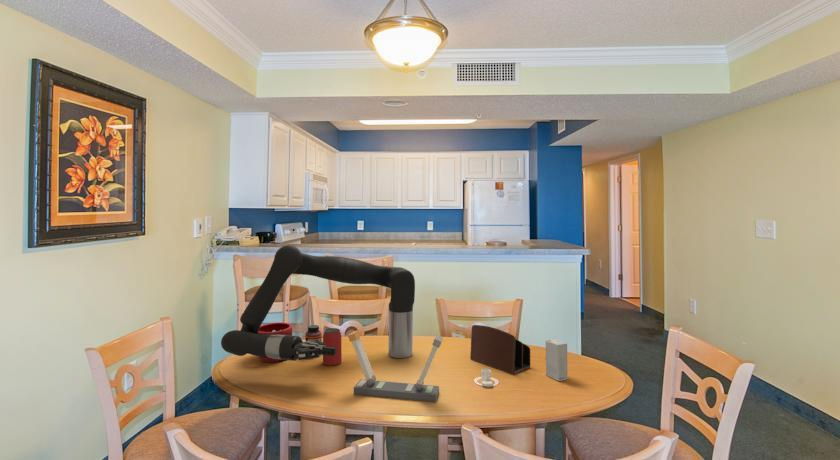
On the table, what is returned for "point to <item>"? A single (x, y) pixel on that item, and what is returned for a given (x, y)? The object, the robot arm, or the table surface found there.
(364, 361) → the orange switch
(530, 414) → the table surface
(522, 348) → the letter holder
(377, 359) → the table surface
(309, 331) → the supplement bottle
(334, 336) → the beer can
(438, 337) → the grey switch
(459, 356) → the table surface
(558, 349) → the skincare box
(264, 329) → the plant pot
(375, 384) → the switch panel
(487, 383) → the teacup and saucer
